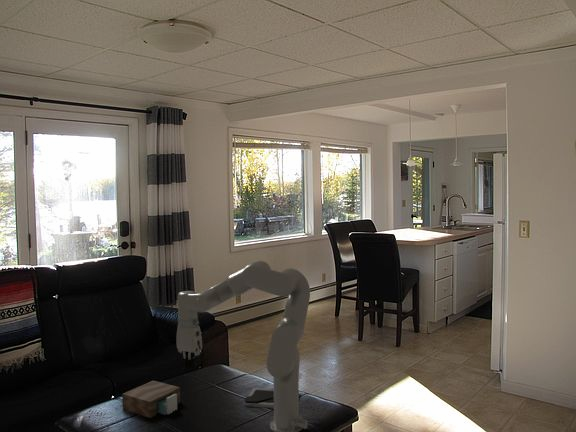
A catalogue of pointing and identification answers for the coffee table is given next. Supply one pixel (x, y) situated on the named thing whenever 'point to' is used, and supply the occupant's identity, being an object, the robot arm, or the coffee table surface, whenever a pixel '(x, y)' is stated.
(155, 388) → the walnut rack
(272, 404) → the picture frame
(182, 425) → the coffee table surface
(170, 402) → the teal shell
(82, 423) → the coffee table surface
